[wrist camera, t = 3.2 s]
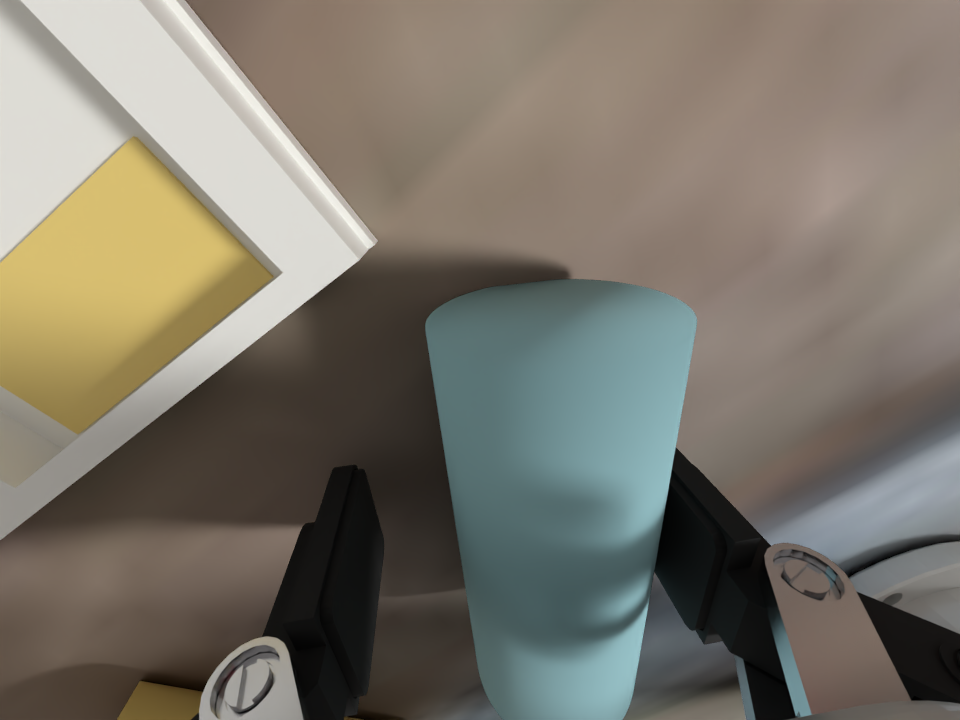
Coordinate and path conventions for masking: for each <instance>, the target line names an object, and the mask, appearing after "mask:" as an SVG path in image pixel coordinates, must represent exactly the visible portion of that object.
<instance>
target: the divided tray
mask: <svg viewBox="0 0 960 720" xmlns="http://www.w3.org/2000/svg"><path fill="white" fill-rule="evenodd" d="M377 241H378V240H377V239H376V238H375V237H374V235H373V234H372V233H371V232H370V231H369V229H368V228H367V227H366V226H365V224H364V223H363V222H362V221H361V219H360V218H359V217H358V216H357V214H356V213H355V212H354V211H353V209H352V208H351V207H350V206H349V204H348V203H347V202H346V201H345V199H344V198H343V197H342V196H341V194H340V193H339V192H338V191H337V189H336V188H335V187H334V186H333V184H332V183H331V182H330V181H329V179H328V178H327V177H326V176H325V174H324V173H323V172H322V171H321V169H320V168H319V167H318V166H317V164H316V163H315V162H314V161H313V159H312V158H311V157H310V156H309V154H308V153H307V152H306V151H305V149H304V148H303V147H302V146H301V144H300V143H299V142H298V141H297V140H296V138H295V137H294V136H293V135H292V133H291V132H290V131H289V130H288V128H287V127H286V126H285V125H284V123H283V122H282V121H281V120H280V118H279V117H278V116H277V115H276V113H275V112H274V111H273V110H272V108H271V107H270V106H269V105H268V103H267V102H266V101H265V100H264V98H263V97H262V96H261V95H260V93H259V92H258V91H257V90H256V88H255V87H254V86H253V85H252V83H251V82H250V81H249V80H248V78H247V77H246V76H245V75H244V73H243V72H242V71H241V70H240V68H239V67H238V66H237V65H236V63H235V62H234V61H233V60H232V58H231V57H230V56H229V55H228V53H227V52H226V51H225V50H224V49H223V47H222V46H221V45H220V44H219V42H218V41H217V40H216V39H215V37H214V36H213V35H212V34H211V32H210V31H209V30H208V29H207V27H206V26H205V25H204V24H203V22H202V21H201V20H200V19H199V17H198V16H197V15H196V14H195V12H194V11H193V10H192V9H191V7H190V6H189V5H188V4H187V2H186V1H185V0H0V540H1V539H3V538H4V537H5V536H6V535H8V534H9V533H10V532H12V531H13V530H14V529H15V528H17V527H18V526H19V525H20V524H22V523H23V522H24V521H26V520H27V519H28V518H29V517H31V516H32V515H33V514H35V513H36V512H37V511H38V510H40V509H41V508H42V507H44V506H45V505H46V504H47V503H49V502H50V501H51V500H53V499H54V498H55V497H56V496H58V495H59V494H60V493H61V492H63V491H64V490H65V489H67V488H68V487H69V486H70V485H72V484H73V483H74V482H76V481H77V480H78V479H79V478H81V477H82V476H83V475H85V474H86V473H87V472H88V471H90V470H91V469H92V468H94V467H95V466H96V465H97V464H99V463H100V462H101V461H103V460H104V459H105V458H106V457H108V456H109V455H110V454H111V453H113V452H114V451H115V450H117V449H118V448H119V447H120V446H122V445H123V444H124V443H126V442H127V441H128V440H129V439H131V438H132V437H133V436H135V435H136V434H137V433H138V432H140V431H141V430H142V429H144V428H145V427H146V426H147V425H149V424H150V423H151V422H152V421H154V420H155V419H156V418H158V417H159V416H160V415H161V414H163V413H164V412H165V411H167V410H168V409H169V408H170V407H172V406H173V405H174V404H176V403H177V402H178V401H179V400H181V399H182V398H183V397H185V396H186V395H187V394H188V393H190V392H191V391H192V390H193V389H195V388H196V387H197V386H199V385H200V384H201V383H202V382H204V381H205V380H206V379H208V378H209V377H210V376H211V375H213V374H214V373H215V372H217V371H218V370H219V369H220V368H222V367H223V366H224V365H226V364H227V363H228V362H229V361H231V360H232V359H233V358H234V357H236V356H237V355H238V354H240V353H241V352H242V351H243V350H245V349H246V348H247V347H249V346H250V345H251V344H252V343H254V342H255V341H256V340H258V339H259V338H260V337H261V336H263V335H264V334H265V333H267V332H268V331H269V330H270V329H272V328H273V327H274V326H275V325H277V324H278V323H279V322H281V321H282V320H283V319H284V318H286V317H287V316H288V315H290V314H291V313H292V312H293V311H295V310H296V309H297V308H299V307H300V306H301V305H302V304H304V303H305V302H306V301H308V300H309V299H310V298H311V297H313V296H314V295H315V294H316V293H318V292H319V291H320V290H322V289H323V288H324V287H325V286H327V285H328V284H329V283H331V282H332V281H333V280H334V279H336V278H337V277H338V276H340V275H341V274H342V273H343V272H345V271H346V270H347V269H349V268H350V267H351V266H352V265H354V264H355V263H356V262H357V261H359V260H360V259H361V258H362V257H363V255H364V254H365V253H366V252H367V251H368V250H369V249H370V248H371V247H372V246H374V245H375V244H376V243H377Z"/></svg>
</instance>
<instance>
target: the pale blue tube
mask: <svg viewBox="0 0 960 720" xmlns="http://www.w3.org/2000/svg"><path fill="white" fill-rule="evenodd" d="M696 326H697V318H696V315H695V313H694V312H693V311H692V309H691V308H690V307H689V306H688V305H686V304H685V303H684V302H682V301H680V300H679V299H677V298H675V297H673V296H670V295H668V294H666V293H663V292H660V291H657V290H653V289H650V288H646V287H642V286H637V285H632V284H626V283H619V282H611V281H601V280H584V279H556V280H547V281H539V282H530V283H521V284H513V285H504V286H495V287H489V288H485V289H481V290H477V291H474V292H470V293H467V294H464V295H462V296H459V297H457V298H454V299H452V300H450V301H448V302H446V303H444V304H442V305H441V306H439V307H438V308H437V309H435V310H434V311H433V312H432V313H431V314H430V315H429V317H428V318H427V320H426V324H425V331H426V338H427V344H428V351H429V357H430V363H431V370H432V376H433V383H434V389H435V395H436V402H437V408H438V415H439V421H440V428H441V434H442V440H443V447H444V453H445V460H446V466H447V473H448V479H449V485H450V492H451V498H452V505H453V511H454V517H455V524H456V530H457V537H458V543H459V550H460V556H461V562H462V569H463V575H464V582H465V588H466V594H467V601H468V607H469V614H470V620H471V627H472V633H473V639H474V646H475V652H476V659H477V665H478V671H479V675H480V679H481V682H482V685H483V687H484V690H485V693H486V695H487V697H488V699H489V701H490V702H491V704H492V706H493V707H494V709H495V710H496V712H497V713H498V715H499V716H500V717H501V718H502V719H503V720H622V719H623V718H624V716H625V714H626V712H627V710H628V708H629V706H630V703H631V699H632V696H633V692H634V686H635V680H636V674H637V668H638V663H639V657H640V651H641V645H642V639H643V634H644V628H645V622H646V616H647V610H648V605H649V599H650V593H651V587H652V581H653V576H654V570H655V564H656V558H657V552H658V547H659V541H660V535H661V529H662V523H663V518H664V512H665V506H666V500H667V494H668V489H669V483H670V477H671V471H672V465H673V460H674V454H675V448H676V442H677V436H678V431H679V425H680V419H681V413H682V407H683V402H684V396H685V390H686V384H687V378H688V373H689V367H690V361H691V355H692V349H693V344H694V338H695V332H696Z"/></svg>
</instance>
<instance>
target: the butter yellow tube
mask: <svg viewBox="0 0 960 720" xmlns="http://www.w3.org/2000/svg"><path fill="white" fill-rule="evenodd" d="M202 693H203V692H201V691H195V690H190V689H184V688H178V687H172V686H167V685H161V684H155V683H149V682H144V681H139V683H138V685H137V686H136V688H135V690H134V691H133V693H132V695H131V696H130V698H129V700H128V701H127V703H126V705H125V706H124V708H123V710H122V711H121V713H120V715H119V717H118V718H117V720H191V719H192V718H193V717H194V716H195V715H196V714H197V713H199V708H200V702H201V696H202ZM344 720H362V719H356V718H351V717H344Z"/></svg>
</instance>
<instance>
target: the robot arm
mask: <svg viewBox="0 0 960 720" xmlns="http://www.w3.org/2000/svg"><path fill="white" fill-rule="evenodd" d="M383 556H384V538H383V534H382V530H381V527H380V523H379V519H378V516H377V512H376V509H375V505H374V501H373V498H372V494H371V491H370V487H369V483H368V480H367V476H366V473H365V470H364V469H359V470H358V468H357V466H356V465H349V466H342V467H335V468H334V469H333V470H332V473H331V476H330V479H329V482H328V485H327V488H326V491H325V494H324V497H323V500H322V503H321V506H320V509H319V512H318V515H317V518H316V521H315V522H312V523H306V524H305V525H304V526H303V527H302V529H301V531H300V534H299V537H298V539H297V542H296V545H295V548H294V550H293V553H292V556H291V559H290V561H289V564H288V567H287V570H286V573H285V575H284V578H283V581H282V584H281V586H280V589H279V592H278V595H277V597H276V600H275V603H274V606H273V609H272V611H271V614H270V617H269V620H268V622H267V625H266V628H265V631H264V633H263V636H262V637H261V638H256V639H253V640H251V641H249V642H247V643H245V644H243V645H241V646H240V647H238V648H237V649H236V650H234V651H233V652H232V653H230V654H229V655H228V656H227V657H226V658H225V659H224V660H223V661H222V662H221V664H220V665H219V666H218V667H217V668H216V670H215V671H214V673H213V674H212V676H211V677H210V678H209V680H208V682H207V684H206V686H205V689H204V691H203V693H202V696H201V702H200V708H199V713H197V714H196V715H195V716H194V717H193V718H192V719H191V720H344V717H346V716H351V715H356V714H357V711H358V704H359V696H363V695H366V694H367V691H368V686H369V678H370V669H371V660H372V652H373V643H374V634H375V626H376V617H377V608H378V599H379V591H380V582H381V573H382V565H383ZM654 572H655V573H656V575H657V577H658V579H659V580H660V582H661V584H662V585H663V587H664V589H665V590H666V592H667V594H668V596H669V597H670V599H671V601H672V602H673V604H674V606H675V608H676V609H677V611H678V613H679V614H680V616H681V618H682V619H683V621H684V623H685V624H686V626H687V627H688V628H689V629H690V630H692V631H693V630H696V632H697V634H698V635H699V637H700V639H701V640H702V642H703V644H704V645H705V644H710V643H715V642H720V641H723V642H724V644H725V645H726V647H727V648H728V650H729V651H730V652H731V653H733V654H734V657H735V663H736V668H737V673H738V679H739V684H740V689H741V694H742V700H743V705H744V710H745V716H746V720H960V541H954V542H946V543H938V544H934V545H930V546H926V547H922V548H918V549H913V550H910V551H907V552H905V553H902V554H899V555H896V556H894V557H891V558H888V559H885V560H883V561H881V562H879V563H877V564H874V565H872V566H870V567H868V568H866V569H864V570H862V571H860V572H857V573H856V574H854V575H852V576H850V577H849V578H848V576H847V575H846V574H845V573H844V572H843V571H842V570H841V569H840V568H839V567H838V566H837V565H836V564H835V563H834V562H832V561H831V560H829V559H828V558H826V557H825V556H823V555H822V554H820V553H818V552H816V551H814V550H811V549H809V548H807V547H803V546H800V545H797V544H789V543H780V544H774V545H772V546H771V545H770V544H769V543H768V542H767V541H766V540H765V539H764V538H763V537H762V536H761V535H760V534H759V533H758V532H757V531H756V529H755V528H754V527H753V526H752V525H751V524H750V523H749V522H748V521H747V520H746V519H745V518H744V517H743V516H742V515H741V514H740V513H739V512H738V511H737V509H736V508H735V507H734V506H733V505H732V504H731V503H730V502H729V501H728V500H727V499H726V498H725V497H724V496H723V495H722V494H721V493H720V492H719V490H718V489H717V488H716V487H715V486H714V485H713V484H712V483H711V482H710V481H709V480H708V479H707V478H706V477H705V476H704V475H703V474H702V473H701V472H700V470H699V469H698V468H696V467H695V466H694V465H693V464H691V463H690V462H689V461H688V460H687V459H686V458H685V456H684V455H683V454H682V453H681V452H680V451H679V450H678V449H677V448H675V454H674V460H673V465H672V471H671V477H670V483H669V489H668V494H667V500H666V506H665V512H664V518H663V523H662V529H661V535H660V541H659V547H658V552H657V558H656V564H655V570H654Z"/></svg>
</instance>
